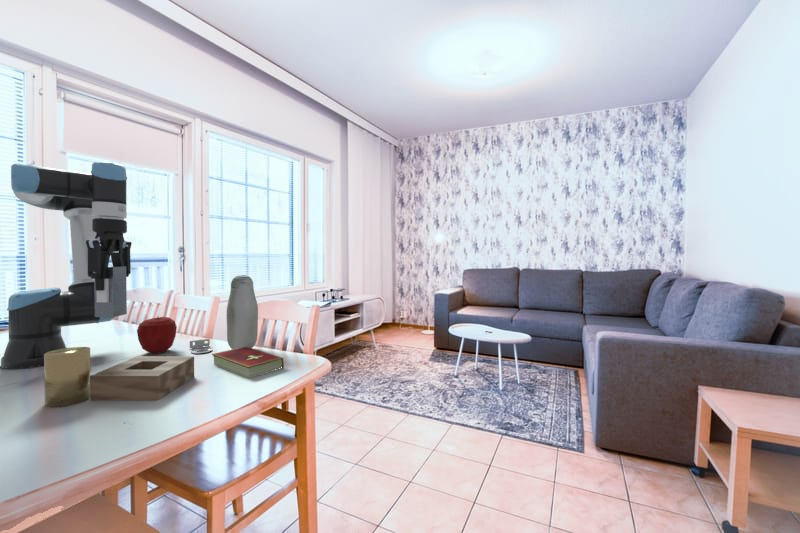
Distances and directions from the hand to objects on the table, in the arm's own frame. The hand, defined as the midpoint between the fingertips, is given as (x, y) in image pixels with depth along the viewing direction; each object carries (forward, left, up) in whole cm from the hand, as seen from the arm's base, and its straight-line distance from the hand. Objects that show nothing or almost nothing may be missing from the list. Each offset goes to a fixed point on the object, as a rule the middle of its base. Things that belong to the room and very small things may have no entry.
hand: (110, 300), depth 99 cm
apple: (-25, -3, -22) cm, 34 cm away
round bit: (+16, +2, -22) cm, 27 cm away
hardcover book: (-9, +35, -23) cm, 42 cm away
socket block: (+8, +15, -22) cm, 28 cm away
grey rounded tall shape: (-27, +26, -22) cm, 44 cm away
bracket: (-28, +11, -23) cm, 38 cm away
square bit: (0, 0, -4) cm, 4 cm away
